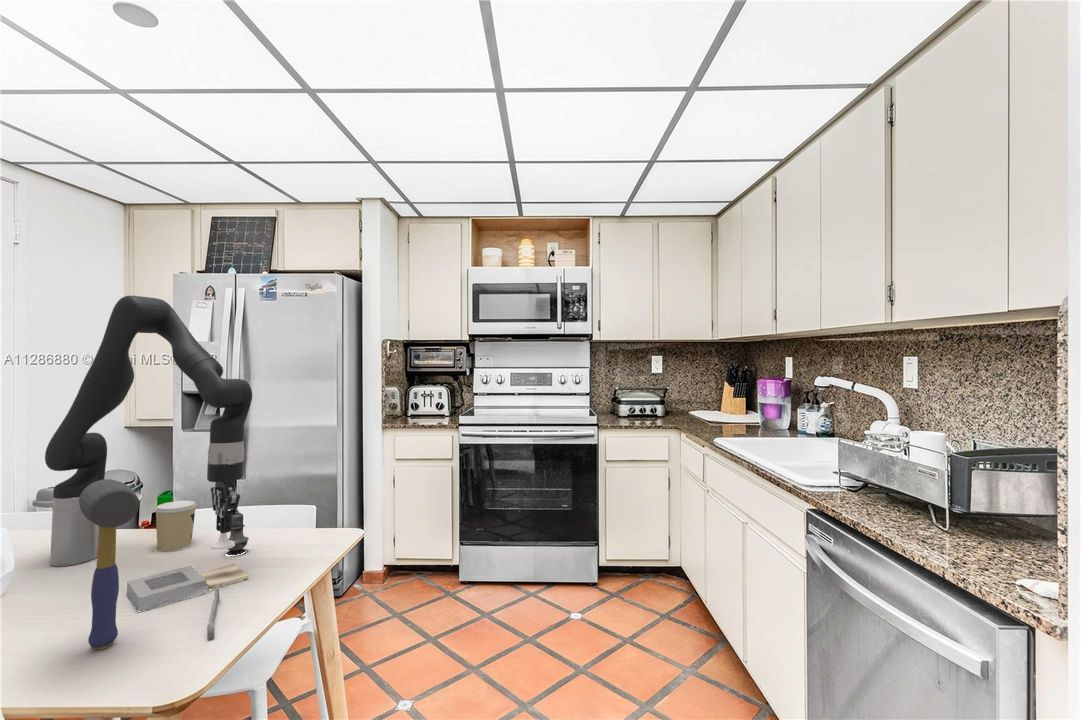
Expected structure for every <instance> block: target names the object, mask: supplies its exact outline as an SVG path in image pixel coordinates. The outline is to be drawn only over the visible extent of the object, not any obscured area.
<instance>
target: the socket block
mask: <svg viewBox="0 0 1081 720" xmlns="http://www.w3.org/2000/svg"><path fill="white" fill-rule="evenodd" d="M200 573H201V572H199V571H198V570H196V568H194V567H193V565H188V566H184V567H180V568H176V569H171V570H166V571H164V572H160V573H155V574H152V575H151V574H150V575H147V576H146V575H145V576H143V577H139V578H135V579H130V580H126V596H127V595H128V596H127V597H128V599H129V598H130V599H129V600H130V602H131V601H132V602H131V603H132V605H133V604H134V605H133V606H134V608H135V607H136V608H135V609H136V611H137V610H138V611H142V612H144V611H143V610H145V611H148V610H147V609H149V610H151V609H150V608H152V609H155V608H154V607H156V608H158V607H157V606H159V607H161V606H160V605H163V606H165V605H164V604H166V605H168V604H167V603H170V602H173V603H175V602H174V601H177V600H180V601H182V600H181V599H184V598H187V599H189V598H188V597H191V596H194V597H196V596H195V595H198V594H201V593H205V592H206V593H207V587H206V579H205V578H204V577H203V576H202V575H201V574H200ZM206 593H205V594H206ZM201 595H202V594H201ZM198 596H199V595H198ZM191 598H192V597H191ZM184 600H185V599H184ZM177 602H178V601H177ZM170 604H171V603H170ZM138 611H137V612H138Z"/></svg>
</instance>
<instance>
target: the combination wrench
mask: <svg viewBox="0 0 1081 720" xmlns="http://www.w3.org/2000/svg"><path fill="white" fill-rule="evenodd" d="M219 585H220V584H217V585H216V587H215V589H214V599H213V602H212V605H211V610H210V615H209V619H208V623H207V627H206V629H207V630H206V631H207V632H206V637H207V640H212V639H214V638H215V622H214V621H215V618H216V617H215V616H216V612H217V608H218V603H220V602H219V601H220V588H219Z"/></svg>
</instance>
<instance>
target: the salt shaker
mask: <svg viewBox="0 0 1081 720" xmlns="http://www.w3.org/2000/svg"><path fill="white" fill-rule="evenodd" d="M239 511H240V510H238V509H237V511H236V515H233V516H232V522H231V531H230V532H229V533H230V535H229V538H228V539H229V540H232V541H234V542H235V543H234V544H235V546H234V547H232V548H229V549H227V550H228V551H226V552H225V553H226V554H228V555H237V554H241V553H243V552H245V551H246V550H247V549H245V547H246V546H247V545H248V541H249V539H250V538H249V536H248V537H247V536H245V534H244V527H245V524H244V514H243V513H242V512H239Z"/></svg>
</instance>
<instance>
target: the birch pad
mask: <svg viewBox="0 0 1081 720" xmlns="http://www.w3.org/2000/svg"><path fill="white" fill-rule="evenodd" d="M199 573H200V574H201V575H202V576H203V577H204V578H205V579H206V586H207V587H208V588H209V589H213V588H215V587H216V585H217V584H220V585H219V587H220V586H223V585H227V584H230V585H232V584H231V583H234V582H237V581H241V580H244V579H248V580H249V575H248V574H247V573H246V572H245V571H244V570H242V569H241V568H240V567H238V566H237V565H236V564H234V563H233V564H229V565H226V566H221V567H217V568H215V569H211V570H207V571H203V572H199ZM244 581H245V580H244ZM241 582H242V581H241ZM237 583H238V582H237ZM234 584H235V583H234ZM227 586H228V585H227ZM207 587H206V588H207ZM223 587H224V586H223ZM208 588H207V589H208ZM220 588H221V587H220ZM209 589H208V590H209ZM213 590H214V589H213Z"/></svg>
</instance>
